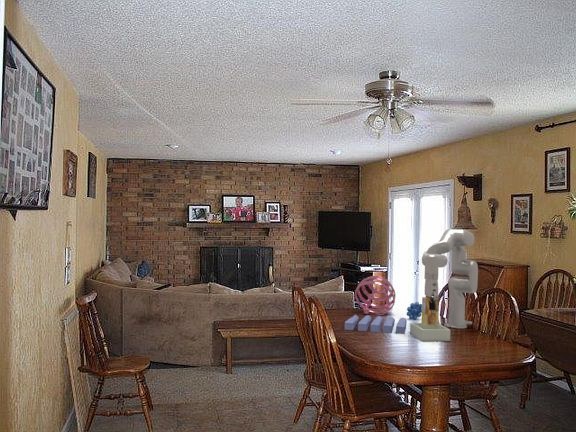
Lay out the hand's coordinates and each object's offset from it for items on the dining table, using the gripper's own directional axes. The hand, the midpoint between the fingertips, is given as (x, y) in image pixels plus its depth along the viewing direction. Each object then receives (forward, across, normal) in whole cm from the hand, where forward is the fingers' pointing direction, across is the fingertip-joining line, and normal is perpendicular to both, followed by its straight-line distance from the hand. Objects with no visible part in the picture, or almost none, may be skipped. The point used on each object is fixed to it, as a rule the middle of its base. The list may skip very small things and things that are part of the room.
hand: (430, 308), depth 319 cm
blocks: (+17, +32, +22) cm, 42 cm away
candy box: (+9, 0, 0) cm, 9 cm away
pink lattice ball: (+17, +79, +10) cm, 81 cm away
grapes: (+17, +59, -11) cm, 62 cm away
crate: (+17, 0, 0) cm, 17 cm away
